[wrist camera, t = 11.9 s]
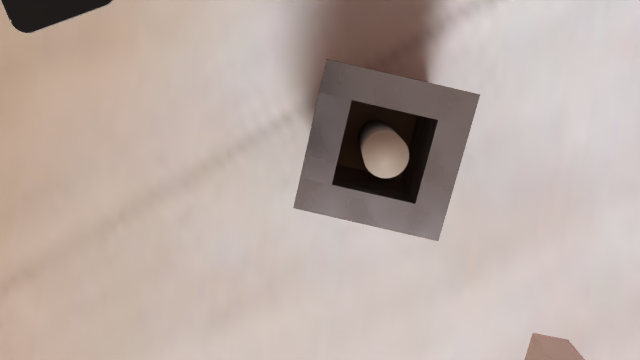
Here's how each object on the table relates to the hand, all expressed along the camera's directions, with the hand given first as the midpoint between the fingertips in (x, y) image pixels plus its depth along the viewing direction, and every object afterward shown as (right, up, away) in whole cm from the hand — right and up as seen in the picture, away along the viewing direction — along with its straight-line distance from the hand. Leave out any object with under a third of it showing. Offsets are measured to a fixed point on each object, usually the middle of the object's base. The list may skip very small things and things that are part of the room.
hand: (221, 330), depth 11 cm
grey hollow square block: (+5, +6, +19) cm, 20 cm away
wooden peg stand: (+5, +6, +23) cm, 24 cm away
